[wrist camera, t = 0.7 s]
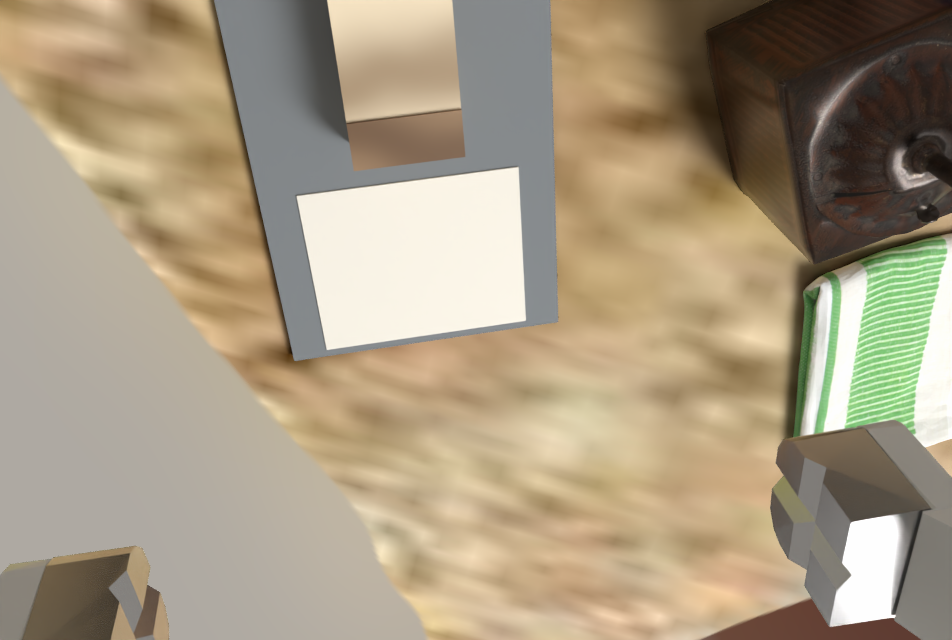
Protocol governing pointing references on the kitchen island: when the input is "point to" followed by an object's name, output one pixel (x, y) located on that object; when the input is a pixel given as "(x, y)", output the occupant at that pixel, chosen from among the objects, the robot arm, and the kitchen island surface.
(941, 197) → the manual coffee grinder
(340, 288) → the mat
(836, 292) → the dish towel
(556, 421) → the kitchen island surface
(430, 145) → the tan rectangular block
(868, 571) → the robot arm
